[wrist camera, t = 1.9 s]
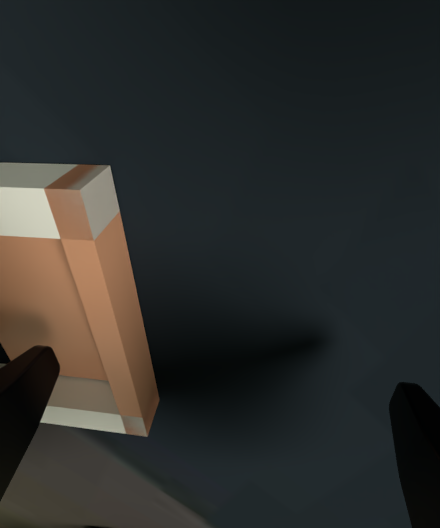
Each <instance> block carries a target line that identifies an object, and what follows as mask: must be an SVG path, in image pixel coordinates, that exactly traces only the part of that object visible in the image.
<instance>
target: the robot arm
mask: <svg viewBox="0 0 440 528" xmlns="http://www.w3.org/2000/svg"><path fill="white" fill-rule="evenodd" d="M59 373H60V364H59V362H58V359H57V357H56V355H55V353H54V350H53V349H52V348H51V347H50V346H43V345H36V346H33V347H32V348H30V349H29V350H27V351H25V352H24V353H22V354H21V355H19V356H18V357H16V358H15V359H13V360H12V361H10V362H9V363H7V364H6V365H4V366H3V367H1V368H0V501H1V499H2V497H3V495H4V493H5V491H6V489H7V487H8V485H9V483H10V481H11V479H12V477H13V475H14V473H15V471H16V470H17V468H18V466H19V464H20V462H21V460H22V458H23V456H24V454H25V452H26V450H27V448H28V446H29V444H30V442H31V440H32V438H33V436H34V434H35V432H36V430H37V428H38V426H39V424H40V421H41V419H42V416H43V414H44V411H45V409H46V406H47V404H48V401H49V399H50V396H51V394H52V391H53V389H54V386H55V384H56V381H57V379H58V376H59ZM389 413H390V419H391V426H392V433H393V439H394V446H395V453H396V460H397V466H398V472H399V478H400V482H401V486H402V490H403V494H404V498H405V502H406V506H407V510H408V513H409V517H410V521H411V525H412V528H440V407H439V406H438V405H437V404H436V403H435V402H434V401H433V400H432V398H431V397H430V396H429V395H428V394H427V393H426V392H425V391H424V390H423V389H422V387H420V386H419V385H418V384H415V383H406V382H400V383H398V385H397V386H396V389H395V391H394V393H393V396H392V398H391V400H390V404H389Z"/></svg>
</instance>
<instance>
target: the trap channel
mask: <svg viewBox="0 0 440 528" xmlns="http://www.w3.org/2000/svg"><path fill="white" fill-rule="evenodd" d="M0 343H1V344H2V346H3V348H4V350H5V352H6V353H7V355H8V357H9V359H10V360H11V361H12V360H13V359H15V358H16V357H18V356H19V355H21V354H22V353H24V352H25V351H27V350H29V349H30V348H32V347H33V346H36V345H43V346H50V347H51V348H52V349H53V350H54V353H55V355H56V357H57V359H58V362H59V364H60V373H59V376H58V379H57V381H56V384H55V386H54V389H53V391H52V394H51V396H50V399H49V401H48V404H47V406H46V409H45V411H44V414H43V416H42V419H41V421H40V422H42V423H50V424H57V425H65V426H72V427H80V428H87V429H95V430H102V431H110V432H117V433H124V434H132V435H139V436H147V437H148V434H149V431H150V427H151V424H152V421H153V418H154V415H155V412H156V409H157V406H158V403H159V395H158V390H157V385H156V381H155V376H154V371H153V366H152V362H151V357H150V352H149V347H148V343H147V338H146V333H145V329H144V324H143V319H142V314H141V310H140V305H139V300H138V295H137V291H136V286H135V281H134V277H133V272H132V267H131V262H130V258H129V253H128V248H127V243H126V239H125V234H124V229H123V224H122V220H121V215H120V210H119V206H118V201H117V196H116V191H115V187H114V182H113V177H112V172H111V168H110V165H78V164H39V163H0ZM4 365H6V364H2V363H0V368H1V367H3V366H4Z"/></svg>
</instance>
